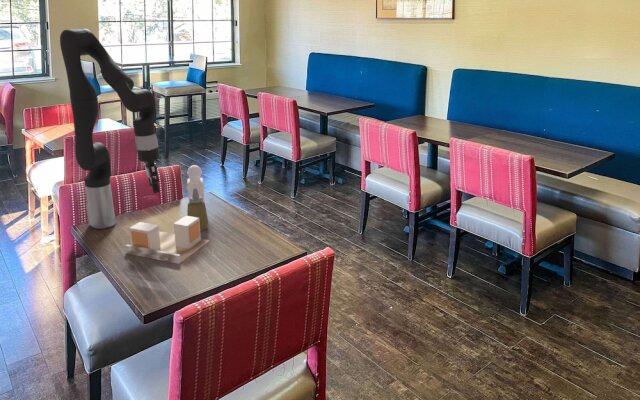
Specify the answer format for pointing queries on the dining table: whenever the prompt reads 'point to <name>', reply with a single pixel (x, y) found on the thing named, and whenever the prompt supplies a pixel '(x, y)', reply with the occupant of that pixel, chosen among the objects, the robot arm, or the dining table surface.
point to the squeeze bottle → (198, 209)
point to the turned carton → (187, 232)
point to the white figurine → (195, 181)
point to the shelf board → (166, 249)
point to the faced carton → (145, 235)
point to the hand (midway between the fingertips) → (154, 189)
